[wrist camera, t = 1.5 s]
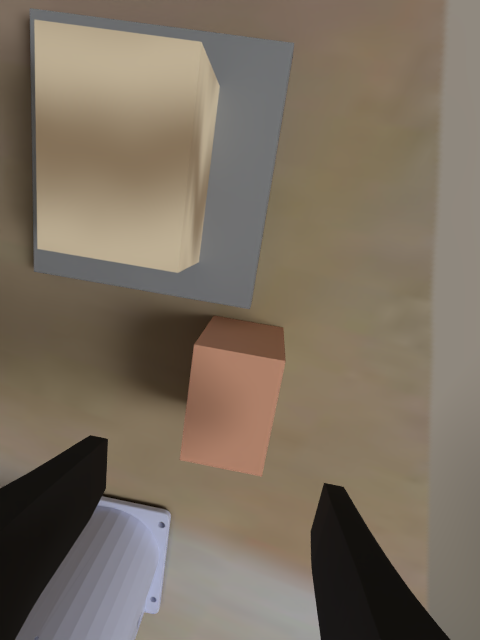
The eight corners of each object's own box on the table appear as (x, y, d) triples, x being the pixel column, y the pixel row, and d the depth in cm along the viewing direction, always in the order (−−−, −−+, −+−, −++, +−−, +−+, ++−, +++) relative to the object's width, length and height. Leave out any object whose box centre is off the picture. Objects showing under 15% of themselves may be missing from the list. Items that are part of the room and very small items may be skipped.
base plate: (250, 304, 19) (249, 309, 18) (45, 269, 20) (34, 271, 19) (292, 54, 16) (294, 43, 15) (44, 21, 16) (29, 8, 16)
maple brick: (199, 262, 18) (177, 272, 14) (87, 243, 18) (37, 249, 14) (219, 86, 16) (201, 41, 12) (92, 68, 16) (34, 19, 12)
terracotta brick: (264, 419, 21) (261, 476, 16) (201, 407, 21) (179, 460, 17) (283, 327, 20) (285, 361, 15) (213, 315, 20) (194, 344, 15)
